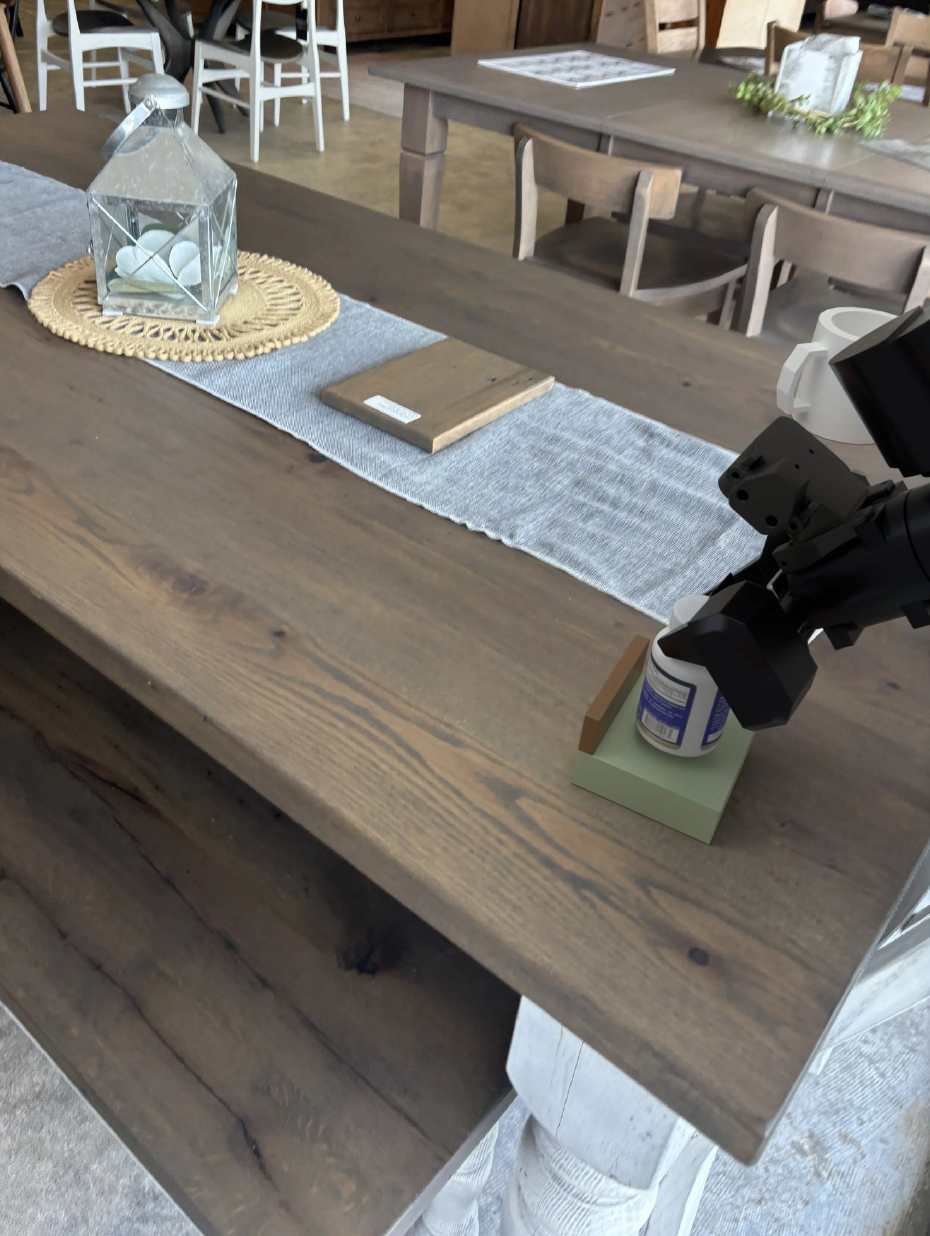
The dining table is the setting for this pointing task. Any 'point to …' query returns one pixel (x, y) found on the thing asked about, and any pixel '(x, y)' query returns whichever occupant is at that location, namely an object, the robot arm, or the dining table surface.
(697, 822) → the low shelf
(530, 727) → the dining table surface
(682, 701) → the pill bottle
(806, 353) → the mug
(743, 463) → the robot arm
